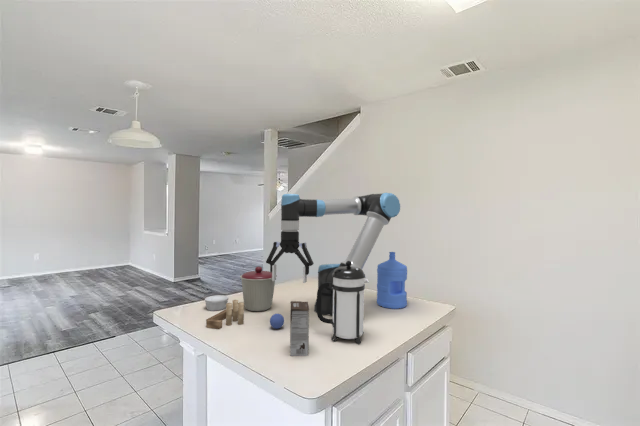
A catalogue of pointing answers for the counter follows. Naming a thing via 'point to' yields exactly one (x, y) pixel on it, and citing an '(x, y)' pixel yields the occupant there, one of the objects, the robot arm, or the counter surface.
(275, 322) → the ball
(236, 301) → the pin
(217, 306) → the ramekin
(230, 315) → the pin
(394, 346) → the counter surface
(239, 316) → the pin front
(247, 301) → the canister
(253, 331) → the counter surface
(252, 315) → the counter surface
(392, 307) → the water jug
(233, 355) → the counter surface
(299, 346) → the coffee box
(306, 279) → the robot arm
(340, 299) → the coffee press
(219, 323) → the rail
